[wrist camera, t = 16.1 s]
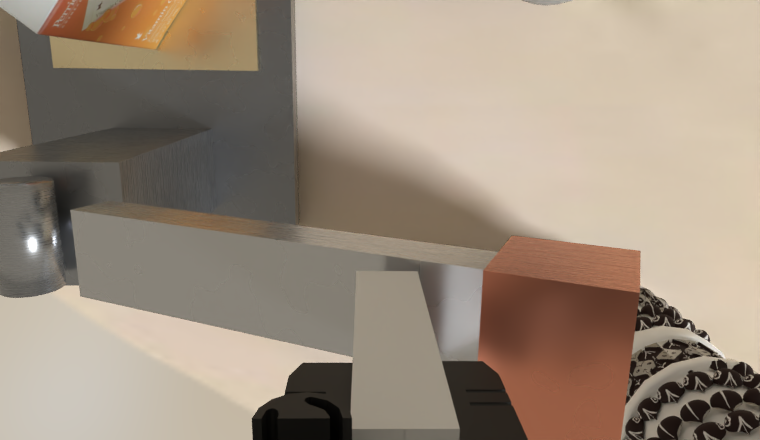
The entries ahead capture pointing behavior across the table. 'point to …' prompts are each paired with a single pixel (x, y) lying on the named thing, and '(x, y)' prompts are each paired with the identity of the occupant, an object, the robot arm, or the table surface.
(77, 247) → the lever
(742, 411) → the decorative candle
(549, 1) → the glass holder
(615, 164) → the table surface
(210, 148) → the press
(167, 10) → the small box
